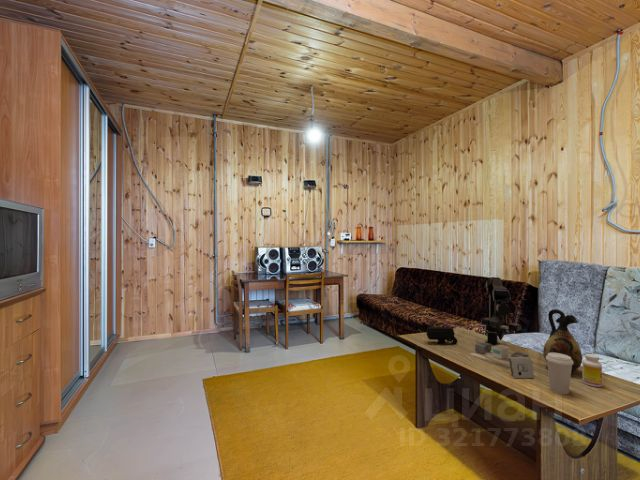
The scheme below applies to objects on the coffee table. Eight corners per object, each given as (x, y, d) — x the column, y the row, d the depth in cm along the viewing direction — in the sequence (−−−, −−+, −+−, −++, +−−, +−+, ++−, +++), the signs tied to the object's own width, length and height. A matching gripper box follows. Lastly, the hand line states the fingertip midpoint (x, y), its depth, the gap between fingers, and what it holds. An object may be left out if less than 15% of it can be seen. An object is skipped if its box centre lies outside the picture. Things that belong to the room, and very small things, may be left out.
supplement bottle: (603, 389, 135) (603, 359, 135) (583, 385, 138) (583, 356, 139) (599, 383, 141) (599, 354, 141) (581, 379, 144) (581, 352, 144)
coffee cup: (543, 390, 133) (543, 355, 133) (547, 383, 140) (547, 350, 140) (571, 398, 126) (571, 361, 126) (574, 390, 133) (575, 356, 133)
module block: (499, 353, 173) (499, 344, 173) (509, 356, 169) (509, 347, 169) (491, 356, 169) (491, 347, 169) (501, 359, 165) (501, 349, 165)
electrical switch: (514, 378, 145) (513, 358, 146) (507, 375, 150) (506, 355, 151) (534, 379, 145) (533, 358, 146) (527, 375, 150) (526, 355, 151)
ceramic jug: (588, 373, 152) (588, 312, 152) (574, 379, 144) (574, 315, 144) (548, 361, 166) (548, 305, 167) (533, 367, 158) (534, 308, 159)
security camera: (459, 345, 191) (459, 329, 191) (429, 345, 191) (429, 329, 191) (454, 342, 198) (454, 326, 198) (425, 341, 198) (425, 326, 198)
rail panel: (486, 349, 184) (486, 340, 184) (532, 362, 164) (532, 352, 164) (470, 355, 174) (470, 345, 174) (516, 370, 154) (517, 359, 154)
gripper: (476, 309, 172) (475, 337, 172) (512, 316, 157) (512, 347, 157) (486, 307, 179) (486, 334, 179) (522, 314, 163) (521, 343, 163)
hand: (500, 339), depth 169 cm, fingers closed
